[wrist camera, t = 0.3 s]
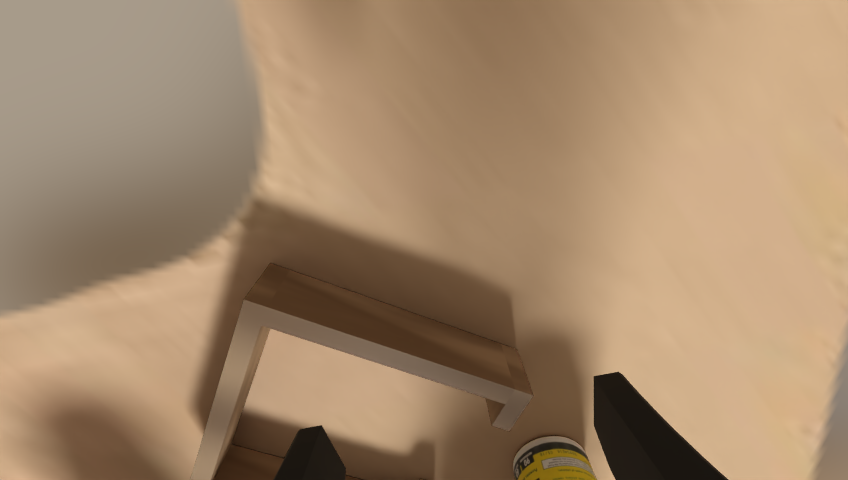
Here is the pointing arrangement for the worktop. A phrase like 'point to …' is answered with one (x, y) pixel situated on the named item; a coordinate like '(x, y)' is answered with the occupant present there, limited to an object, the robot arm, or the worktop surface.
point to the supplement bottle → (552, 460)
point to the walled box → (357, 335)
